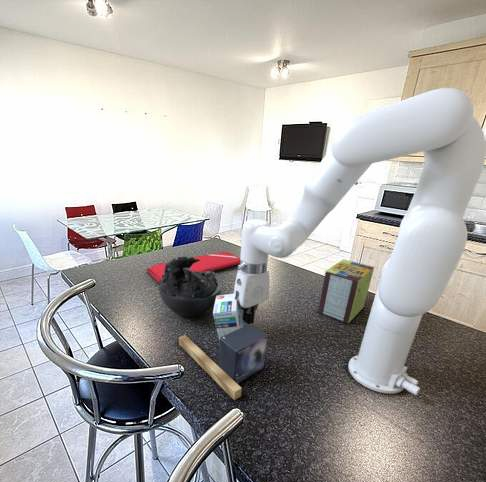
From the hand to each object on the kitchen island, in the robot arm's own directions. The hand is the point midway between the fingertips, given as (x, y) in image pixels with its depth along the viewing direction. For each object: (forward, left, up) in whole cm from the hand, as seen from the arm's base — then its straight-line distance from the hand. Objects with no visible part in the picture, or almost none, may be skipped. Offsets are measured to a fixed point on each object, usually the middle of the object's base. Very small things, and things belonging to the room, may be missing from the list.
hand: (248, 321), depth 88 cm
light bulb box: (0, +6, -2) cm, 6 cm away
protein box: (-9, -35, -3) cm, 37 cm away
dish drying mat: (+49, -13, -3) cm, 50 cm away
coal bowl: (+19, +9, -3) cm, 21 cm away
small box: (-12, +13, -3) cm, 18 cm away
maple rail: (-6, +20, -3) cm, 21 cm away
